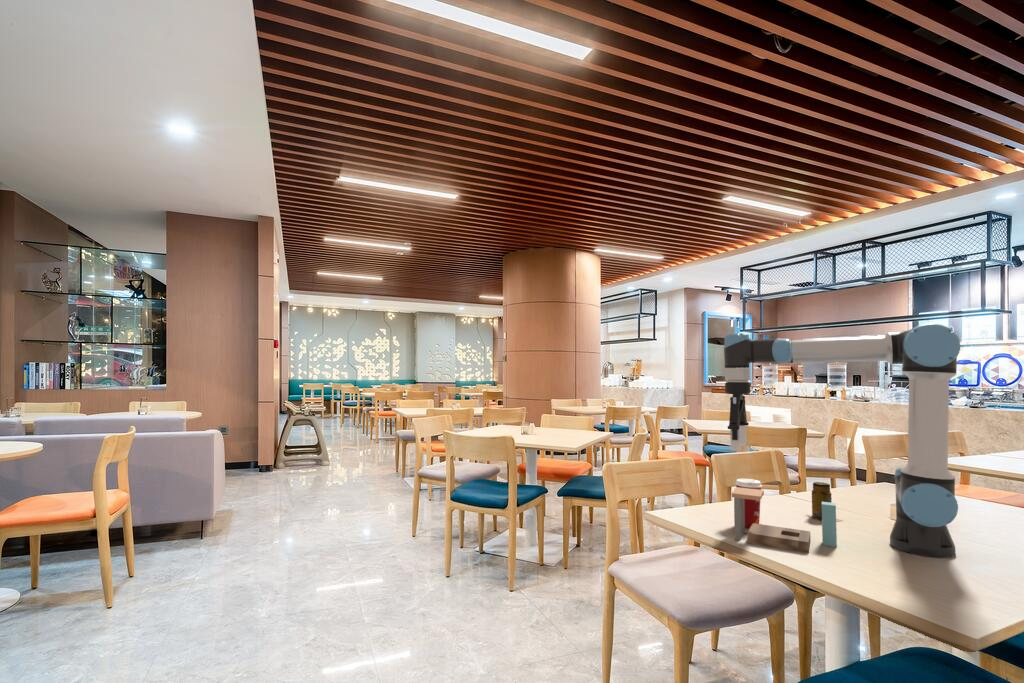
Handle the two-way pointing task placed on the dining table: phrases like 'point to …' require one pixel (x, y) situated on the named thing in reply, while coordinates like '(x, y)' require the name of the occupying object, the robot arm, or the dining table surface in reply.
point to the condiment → (820, 498)
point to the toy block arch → (739, 508)
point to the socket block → (779, 537)
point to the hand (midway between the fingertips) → (738, 448)
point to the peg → (829, 524)
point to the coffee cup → (750, 502)
